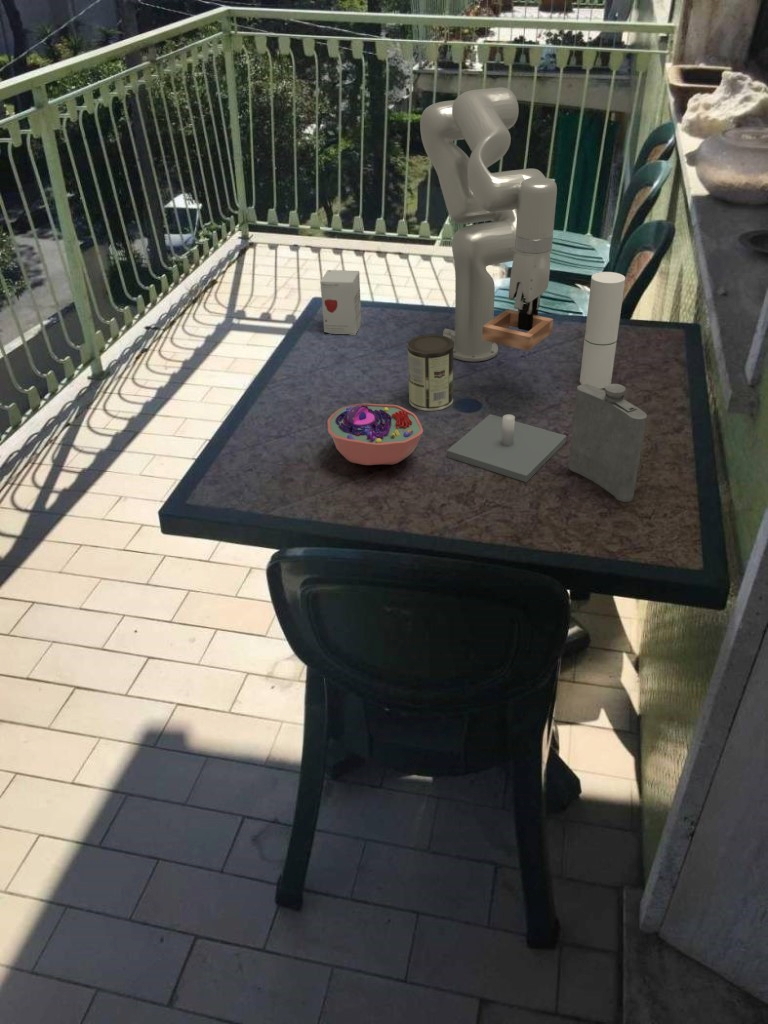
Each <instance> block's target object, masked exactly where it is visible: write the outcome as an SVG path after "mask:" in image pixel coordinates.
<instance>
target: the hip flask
mask: <svg viewBox="0 0 768 1024" xmlns="http://www.w3.org/2000/svg"><path fill="white" fill-rule="evenodd" d="M626 389H627V388H626V387H625V386H624V385H622V384H619V383H611V384H609V385H606V386H605V388H604V389H603V388H601V389H600V388H597V387H594V386H591V385H588V384H580V385H577V386H576V393H575V395H576V396H575V402H574V413H573V421H572V431H571V441H570V449H569V455H568V456H569V458H568V466H567V468H568V469H569V471H571V472H572V473H573V472H574V473H576V474H578V475H580V476H582V477H584V478H586V479H588V480H590V481H592V482H593V483H595V484H596V485H597V486H600V487H601V488H602V489H604V490H605V491H606V492H608V493H609V494H610V495H612V496H613V497H614V498H615V499H616V500H618V501H620V502H622V503H629V502H631V501H633V499H634V495H635V489H636V485H637V484H636V483H637V478H638V470H639V465H640V460H641V459H640V458H641V453H642V448H643V442H644V436H645V431H646V430H645V429H646V425H647V418H648V415H647V413H646V412H645V411H644V410H642V409H640V408H639V407H637V406H636V405H634V404H633V403H631V402H629V401H628V400H626V399H625V398H624V397H625V394H626Z"/></svg>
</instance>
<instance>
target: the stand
mask: <svg viewBox="0 0 768 1024" xmlns="http://www.w3.org/2000/svg"><path fill="white" fill-rule="evenodd" d="M566 442H567V435H566V434H562V433H558V432H555V431H551V430H548V429H544V428H540V427H537V426H534V425H530V424H526V423H522V422H521V421H516V416H515V415H513V414H504V415H503V416H499V415H495V414H492V413H489V414H488V415H486V417H485V418H484V419H482V420H481V421H480V422H479V423H478V424H477V425H476V426H474V427H473V428H472V429H470V431H468V432H467V433H466V434H465V435H463V437H461V438H459V440H457V441H456V442H455V443H453V445H451V446H450V447H449V448H448V449H447V450H446V458H449V459H453V460H456V461H458V462H463V463H465V464H468V465H471V466H474V467H477V468H481V469H483V470H487V471H490V472H493V473H496V474H498V475H501V476H505V477H508V478H512V479H514V480H518V481H520V482H524V483H527V482H528V481H529V480H530V479H531V478H532V477H533V476H534V475H535V474H536V473H538V471H539V470H540V469H541V468H542V467H543V466H544V465H545V464H546V463H547V462H548V461H549V460H550V459H551V457H553V456H554V455H556V453H557V452H558V451H559V450H560V448H562V447H563V446H564V445H565V443H566Z"/></svg>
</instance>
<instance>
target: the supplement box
mask: <svg viewBox="0 0 768 1024" xmlns="http://www.w3.org/2000/svg"><path fill="white" fill-rule="evenodd" d="M360 279H361V278H360V271H359V270H344V269H342V270H341V269H340V270H339V269H338V270H337V269H327V270H326V272H325V274H324V275H323V276H322V278H321V279H320V293H321V294H320V295H321V296H320V297H321V306H322V320H323V331H324V332H328V333H334V334H350V335H349V336H357V334H358V332H357V331H359V330H358V329H360V328H361V325H362V323H361V322H362V305H361V303H362V302H361V301H362V300H361V286H360V285H361V283H360V281H361V280H360ZM324 332H323V333H324ZM356 333H357V334H356Z"/></svg>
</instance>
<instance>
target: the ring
mask: <svg viewBox="0 0 768 1024" xmlns="http://www.w3.org/2000/svg"><path fill="white" fill-rule="evenodd" d="M518 316H519V312H518V310H515V309H514V310H513V309H511V308H507V309H505V310H504V311H502V312H501V313H499V314H498V315H497V316H494V318H493V319H492V320H491V321H490V322H488V323H487V324H485V325H484V326H483V328H482V340H486V341H490V342H494V343H496V344H497V345H502V346H505V347H511V348H513V349H514V348H515V349H519V350H524V351H528V352H529V351H530V350H532V349H533V348H534V347H536V346H537V345H538V344H539V343H541V342H542V341H543V340H544V339H546V338H547V337H549V335H550V334H552V333H553V327H554V318H551V317H545V316H541V315H538V316H537V315H533V325H532V329H531V330H530V331H527V332H524V331H519V330H515V329H511V328H509V327H512V328H518Z"/></svg>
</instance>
